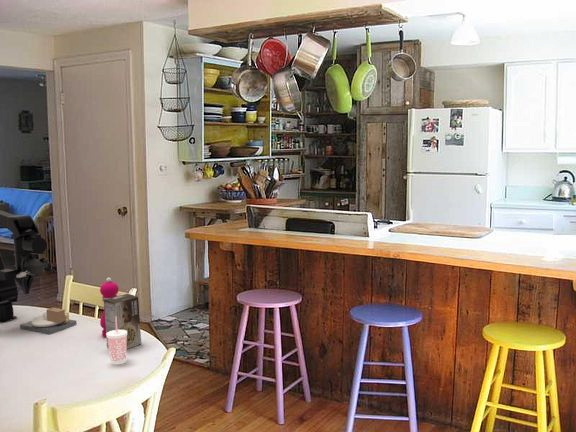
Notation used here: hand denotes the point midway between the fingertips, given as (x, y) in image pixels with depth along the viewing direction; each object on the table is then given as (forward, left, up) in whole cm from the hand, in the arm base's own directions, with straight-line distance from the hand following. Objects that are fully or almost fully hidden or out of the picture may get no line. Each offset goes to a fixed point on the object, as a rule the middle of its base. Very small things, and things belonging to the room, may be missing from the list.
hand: (26, 294), depth 216 cm
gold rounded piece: (+13, +6, -10) cm, 17 cm away
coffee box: (+46, -1, -12) cm, 48 cm away
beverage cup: (+54, -12, -12) cm, 57 cm away
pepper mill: (+34, +6, -12) cm, 37 cm away
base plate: (+6, +3, -12) cm, 14 cm away
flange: (+7, +3, -10) cm, 13 cm away
